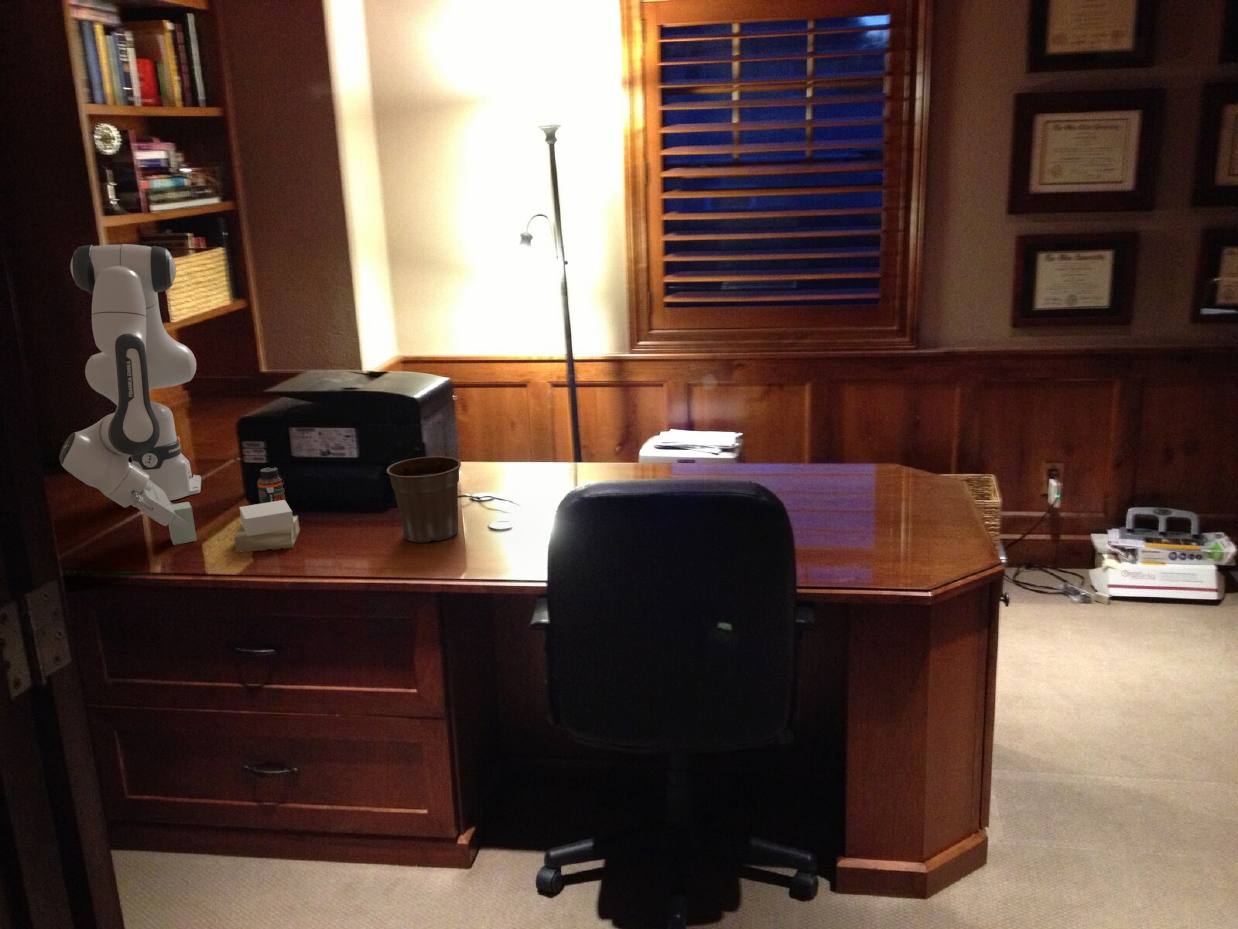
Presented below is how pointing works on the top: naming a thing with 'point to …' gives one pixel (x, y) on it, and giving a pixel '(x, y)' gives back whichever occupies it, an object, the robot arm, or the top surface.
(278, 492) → the supplement bottle
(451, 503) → the plant pot
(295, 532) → the maple base slab
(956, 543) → the top surface
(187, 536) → the sage block
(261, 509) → the white top slab
